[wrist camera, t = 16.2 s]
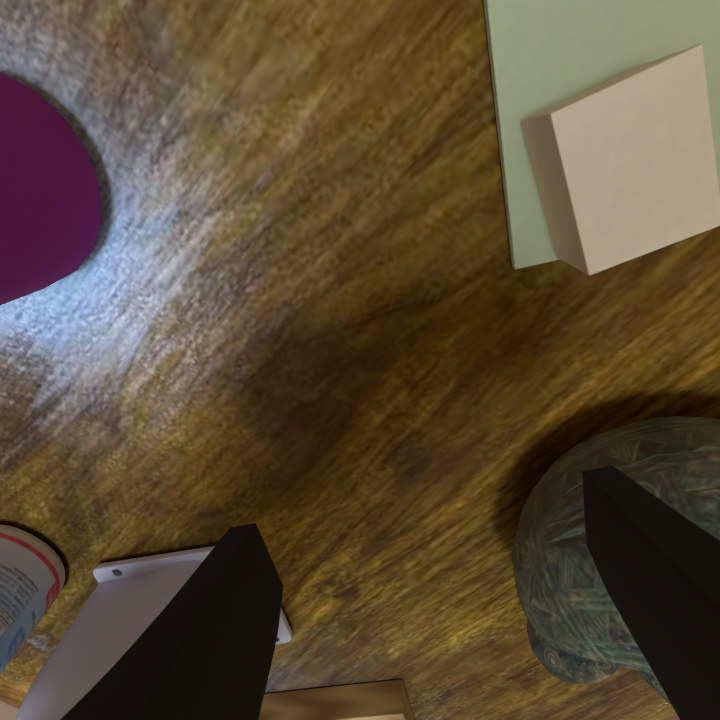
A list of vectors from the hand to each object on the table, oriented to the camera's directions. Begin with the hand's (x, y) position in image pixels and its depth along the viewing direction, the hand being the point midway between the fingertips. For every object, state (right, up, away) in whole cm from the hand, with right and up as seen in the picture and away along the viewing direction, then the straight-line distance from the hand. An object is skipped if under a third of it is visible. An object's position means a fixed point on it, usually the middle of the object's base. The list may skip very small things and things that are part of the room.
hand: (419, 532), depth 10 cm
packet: (+7, +11, +6) cm, 14 cm away
